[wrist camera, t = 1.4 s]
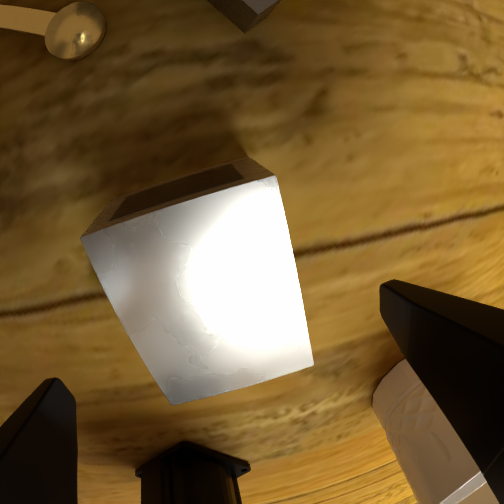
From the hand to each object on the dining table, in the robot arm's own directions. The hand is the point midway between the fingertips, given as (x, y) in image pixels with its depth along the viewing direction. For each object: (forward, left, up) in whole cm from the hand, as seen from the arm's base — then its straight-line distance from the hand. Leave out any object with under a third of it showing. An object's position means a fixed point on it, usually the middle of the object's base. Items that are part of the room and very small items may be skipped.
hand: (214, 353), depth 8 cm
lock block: (0, 0, -7) cm, 7 cm away
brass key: (+13, -2, -7) cm, 15 cm away
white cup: (-18, -2, -7) cm, 19 cm away
